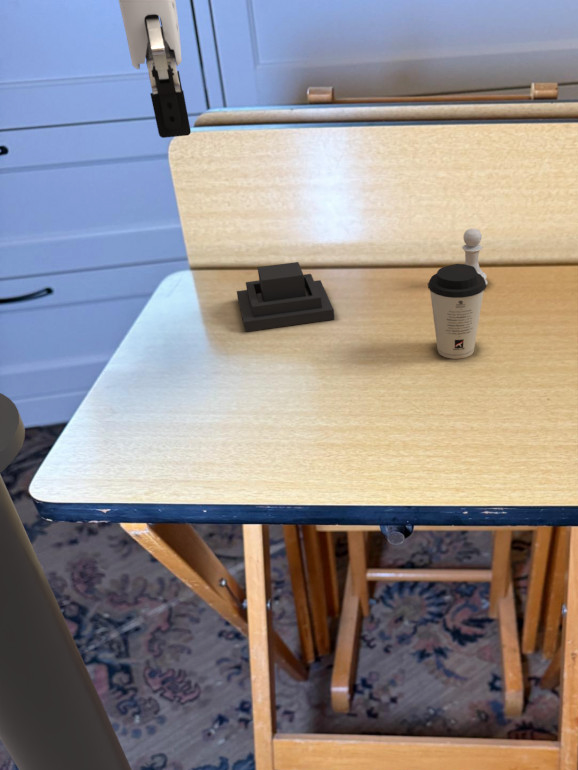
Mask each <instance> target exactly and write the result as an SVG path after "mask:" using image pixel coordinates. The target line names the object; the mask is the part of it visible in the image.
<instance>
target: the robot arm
mask: <svg viewBox="0 0 578 770" xmlns="http://www.w3.org/2000/svg"><path fill="white" fill-rule="evenodd" d="M118 4H119V8H120V9H119V10H120V13H121V18H122V23H123V27H124V32H125V36H126V41H127V45H128V50H129V55H130V60H131V65H132V67H133V68H135V69H136V70H140V69H141V65H143V64H146V67H147V71H148V72H147V73H148V78H149V83H150V88H151V92H150V98H151V99H150V100H151V103H152V108H153V109H152V110H153V113H154V118H155V122H156V127H157V133H158V135H159V137H160V138H162V139H165V138H175V137H185V136H189V135H191V124H190V120H189V114H188V109H187V104H186V98H185V92H184V90H183V87H182V82H181V81H182V80H181V76H180V71H179V70H177V67H178V66H179V65H180V64H181V63H182V62H183V59H182V47H181V46H182V44H181V36H180V35H181V33H180V24H179V16H178V9H177V8H178V7H177V2H176V0H118Z"/></svg>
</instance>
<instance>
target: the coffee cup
mask: <svg viewBox="0 0 578 770" xmlns="http://www.w3.org/2000/svg"><path fill="white" fill-rule="evenodd" d="M427 288H428V290H429V291H430V292H429V293H430V300H431V308H432V316H433V323H434V324H433V325H434V332H435V340H436V348H437V349H436V350H437V353H438V354H439V356H441V357H443V358H447V359H453V360H457V359H464V358H467V357H470V356H472V355H473V353H474V351H475V348H476V347H475V346H476V340H477V334H478V328H479V323H480V316H481V312H482V311H481V310H482V304H483V297H484V291H485V290H486V288H487V285H486V282H485V280H484V278H483V277H482V276H481V275H480V274H478V273H477V271H476V269H475V268H474V267H473V266H470V265H465V263H453V264H450V265H447V266H442V267H441V268H439V269H438V270H437V272H436V273H434V274H433V275H432V276H431V277H430V278H429V280H428V283H427Z"/></svg>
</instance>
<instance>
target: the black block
mask: <svg viewBox="0 0 578 770" xmlns="http://www.w3.org/2000/svg"><path fill="white" fill-rule="evenodd" d="M257 274H258V280H259V281H260V288H261V295H262V298H263V302H267V301H275V300H282V299H290V298H297V297H305V296H306V292H305V283H304V275H305V274H304V273H303V270H302V268H301V265H300V263H299V261H295V262H288V263H280V264H279V263H278V264H271V265H264V266H263V265H262V266H257Z"/></svg>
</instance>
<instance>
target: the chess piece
mask: <svg viewBox="0 0 578 770" xmlns="http://www.w3.org/2000/svg"><path fill="white" fill-rule="evenodd" d="M481 241H482V233H481V231H480V230H479V229H477V228H468V229H467V230H465V231H464V234H463V242H464V245H463V246H461V248H462V250H463V251H464V258H465V260H464V261H465V262H464V264H465V265H470V266H473V267H474V268H475V269H476V271H477V273H478V274H480V275H481V276H482V277H483V278H484V280H485V282H486V286H487V285H488V280H487V278H488V277H487V273H485V272H484V271H483V270H482V269H481V268H480V267H481V266H480V264H479V255H480V251H481V250H482V249H483V246H482V245H480V243H481Z"/></svg>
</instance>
